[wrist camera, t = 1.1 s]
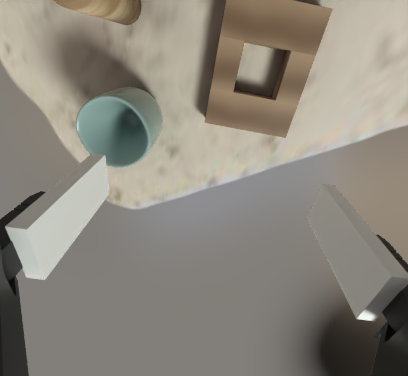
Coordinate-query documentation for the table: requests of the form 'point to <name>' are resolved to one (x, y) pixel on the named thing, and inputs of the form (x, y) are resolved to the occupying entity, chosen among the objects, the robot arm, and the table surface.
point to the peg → (106, 9)
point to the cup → (120, 125)
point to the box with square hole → (269, 37)
